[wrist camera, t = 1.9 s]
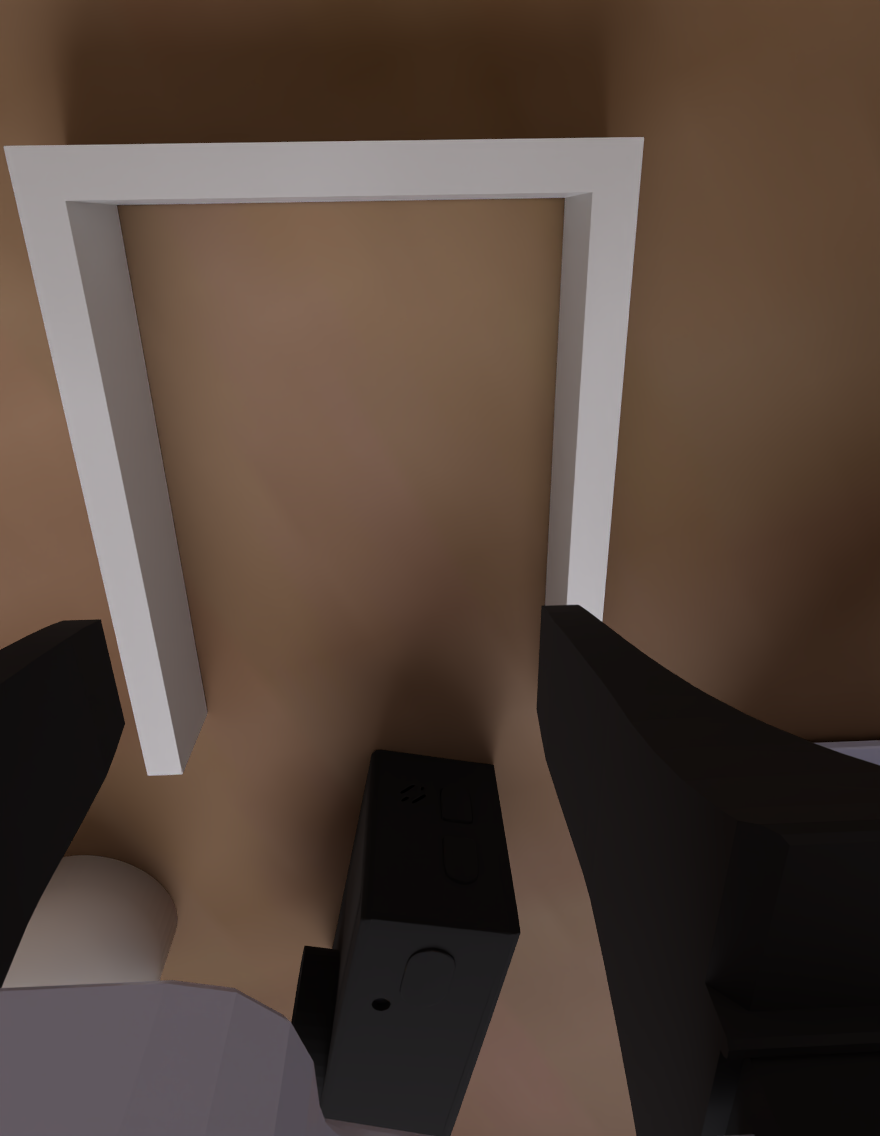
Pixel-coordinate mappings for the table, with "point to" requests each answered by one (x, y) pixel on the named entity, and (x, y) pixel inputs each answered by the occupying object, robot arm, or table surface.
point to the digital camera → (412, 948)
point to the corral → (302, 174)
